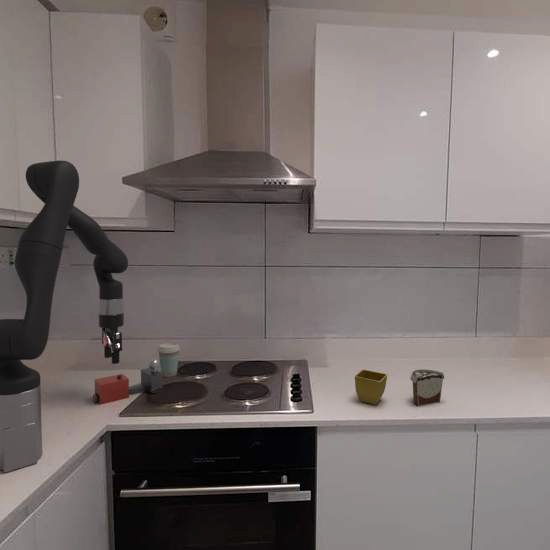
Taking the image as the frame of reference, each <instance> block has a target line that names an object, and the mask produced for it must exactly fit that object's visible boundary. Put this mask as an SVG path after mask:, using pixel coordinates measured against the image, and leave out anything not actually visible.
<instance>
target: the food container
mask: <svg viewBox="0 0 550 550" xmlns="http://www.w3.org/2000/svg"><path fill="white" fill-rule="evenodd" d="M444 380H445V374H444V372H442V371H438V370H433V369H415V370H413V371H412V372H411V375H410V381H411V382H412V395H413V396H412V398H413V399H412V400H413V404H414V405H415V406H417V407H424V406H428V405H435V404H440V403H441V397H442V389H443V382H444Z"/></svg>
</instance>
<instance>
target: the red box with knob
mask: <svg viewBox="0 0 550 550" xmlns="http://www.w3.org/2000/svg"><path fill="white" fill-rule="evenodd" d="M129 384H130V380H129V377H127V376H126V375H125V374H123V373H120V374H115V375H110V376H105V377H100V378H95V379H94V394H98V395H99V403H98V404H99V405H100V406H101V405H105V404H110V403H113V402H116V401H122V400H125V399H126V400H127V399H129V398H130V395H129V387H130V385H129Z"/></svg>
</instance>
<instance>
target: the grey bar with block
mask: <svg viewBox="0 0 550 550" xmlns="http://www.w3.org/2000/svg"><path fill="white" fill-rule="evenodd" d="M158 369H160V359H158V358H152V359H150V360H149V362H148V367H147V368H141V369H140V384H136V385H131V386H130V385H129V396H131V395H136V394H139V393H144V392H148V393H150V391H154V390H156V389H159V388H164V385H163V382H164V381H163V380H164V379H163V375H162V374H161V372H160V371H159V370H158ZM92 401H93V403H94V404H99V395H98V394H95V393H94V394H93V396H92Z"/></svg>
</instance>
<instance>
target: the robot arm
mask: <svg viewBox="0 0 550 550" xmlns="http://www.w3.org/2000/svg"><path fill="white" fill-rule="evenodd" d="M25 181H26V183H27V186H28V187H29V189H30V190H31V191H32V193H33V194H34V195H35V196H36V197H37V198H38V199H39V200H40V201H41V202H43V203H44V205H43V206H42V208H41V210H40V211H39V213H38V214H37V215H36V216H35V217H34V218H33V220H32V221H31V222H30V223H29V224H28V226H27V227H25V229H24V231H23V232H22V234H21V236H20V238H19V239H18V240H19V242H18V244H17V249H16V251H15V252H16V254H15V256H14V268H15V271H16V273H17V274H16V275H17V276H18V278H19V280H20V283H21V284H22V287H23V289H24V292H25V295H26V306H25V307H26V308H25V313H24V316H23V318H1V319H0V471H2V470H3V474H4V473H5V472H6V473H8V472H12V471H15V469H16V470H19V469H21V468H24V467H28V466H31V465H35V464H37V463H38V460H39V459H40V458H41V457H42V455H43V432H42V431H43V430H42V428H43V426H42V425H43V424H42V400H41V399H42V397H41V396H42V392H41V387H42V386H41V375H40V372H39V371H38V370H35V369H33V368H32V367H29V366H27V365H26V364H24V363H23V361H30V360H36V359H38V358H39V357H41V356H42V355H43V353H44V352H45V349H46V348H47V347H46V346H47V343H48V341H49V333H50V326H51V325H50V324H51V317H52V316H51V314H52V305H53V298H54V297H53V295H54V291H55V287H56V282H57V281H56V280H57V275H58V271H59V269H60V268H59V267H60V264H61V258H62V254H63V247H64V241H65V235H66V233H67V228H69V229H70V230H71V231H72V232H73V233H74V234H75V236H76V237H77V238H78V240H79V241H80V242H81V243H82V245H83V246H84V247H85V249H86V251H87V252H89V253H90V254H92V255H94V258H93V270H94V273H95V274H94V275H95V277H96V280H97V283H98V288H99V289H98V291H99V292H98V294H99V300H98V301H99V302H98V327H99V328H101V344H102V346H103V349H104V352H103V354H104V355H103V357H104V358H105V359H109V358H111V364H113V365H117V364H120V353H121V351H123V333H122V332H121V331H119V328H121V327H123V326H124V323H125V321H124V319H125V316H124V315H125V310H124V306H125V305H124V297H123V296H124V290H123V289H124V285H123V282H121V281H119V280H116V279H115V278H114V277H113V274H122V273H124V272H126V271H127V269H128V268H129V267H128V266H129V260H128V257H127V255H126V253H125V252H124V251H123V250H122V249H121V248H119V247H118V245H116V244H115V243H114V242H112V241H111V240H110V239H109V238H108V236H107V234H106V233H105V231H104V230H103V228H102V227H101V226H100V224H99V223H97V221H96V220H94V218H92V217H91V216H90V215H89V214H86V213H85V212H83V210H81V209H79V208H78V207H77V206H75V203H76V202H75V201H76V199H77V196H78V192H79V188H80V175H79V172H78V169H77V168H76V166H75V165H74V164H73V163H71V162H70V161H67V160H50V161H44V162H37V163H33V164H30V165H29V166H28V167H27V168H26V171H25ZM18 468H19V469H18Z"/></svg>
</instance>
